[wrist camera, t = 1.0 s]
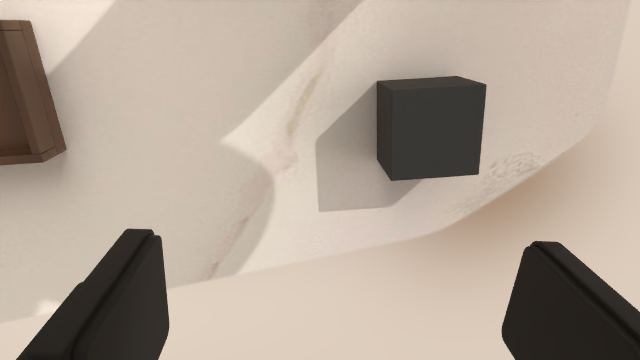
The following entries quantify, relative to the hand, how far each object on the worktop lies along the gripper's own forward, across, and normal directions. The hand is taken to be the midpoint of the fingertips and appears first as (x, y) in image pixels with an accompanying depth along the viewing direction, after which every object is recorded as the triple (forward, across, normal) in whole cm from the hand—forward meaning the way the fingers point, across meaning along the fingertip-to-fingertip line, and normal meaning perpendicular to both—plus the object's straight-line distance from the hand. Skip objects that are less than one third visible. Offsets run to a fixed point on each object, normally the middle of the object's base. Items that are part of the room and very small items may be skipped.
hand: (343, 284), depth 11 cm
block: (+16, -6, -1) cm, 17 cm away
